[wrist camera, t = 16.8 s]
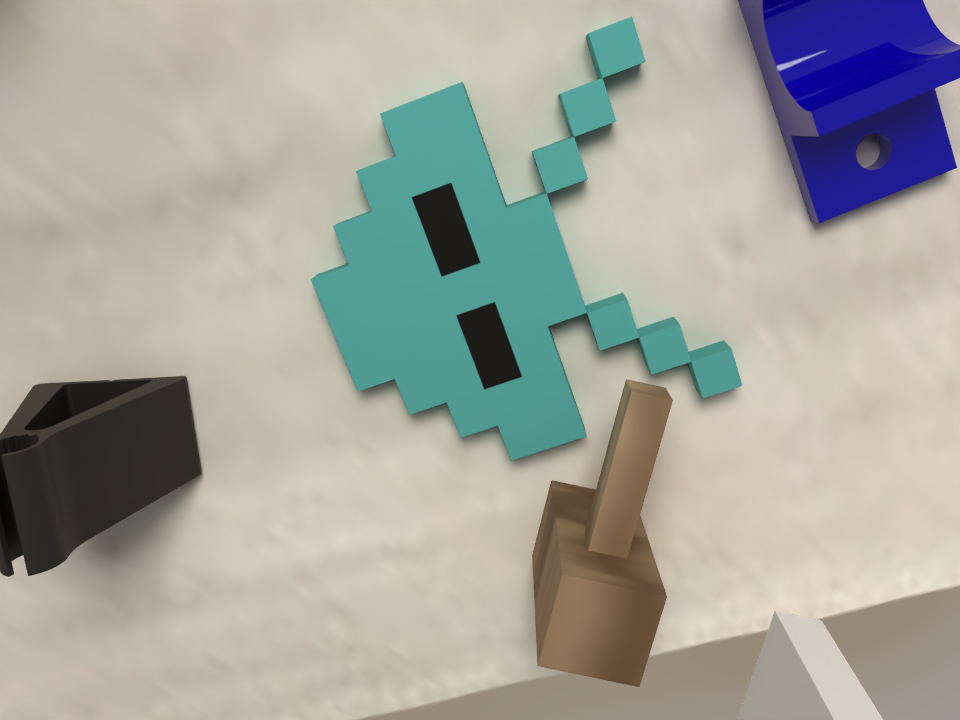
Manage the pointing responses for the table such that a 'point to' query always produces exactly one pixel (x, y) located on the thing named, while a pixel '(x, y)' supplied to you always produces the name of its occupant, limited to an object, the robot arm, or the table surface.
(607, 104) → the alien figure
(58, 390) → the phone stand
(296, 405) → the table surface
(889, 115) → the mounting bracket
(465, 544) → the table surface
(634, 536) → the mallet
